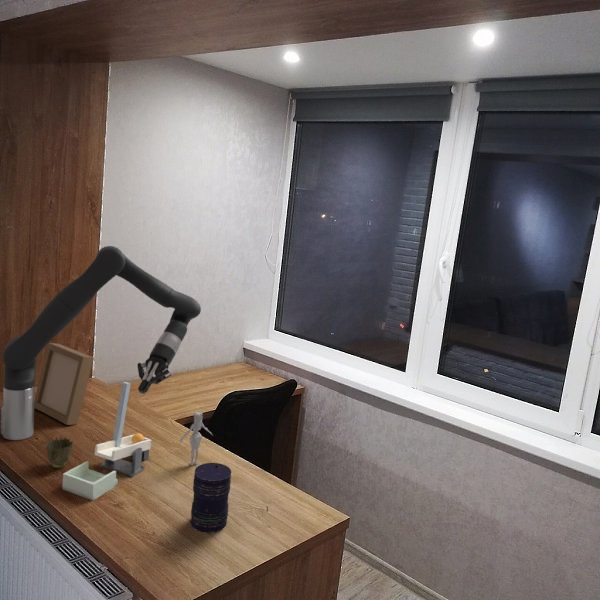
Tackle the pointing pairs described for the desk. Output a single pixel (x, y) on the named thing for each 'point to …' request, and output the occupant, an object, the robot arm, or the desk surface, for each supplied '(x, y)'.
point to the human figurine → (195, 436)
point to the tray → (88, 481)
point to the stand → (128, 463)
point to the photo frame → (63, 383)
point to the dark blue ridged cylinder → (210, 497)
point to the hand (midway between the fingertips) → (141, 392)
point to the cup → (59, 452)
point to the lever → (121, 445)
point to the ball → (137, 438)
